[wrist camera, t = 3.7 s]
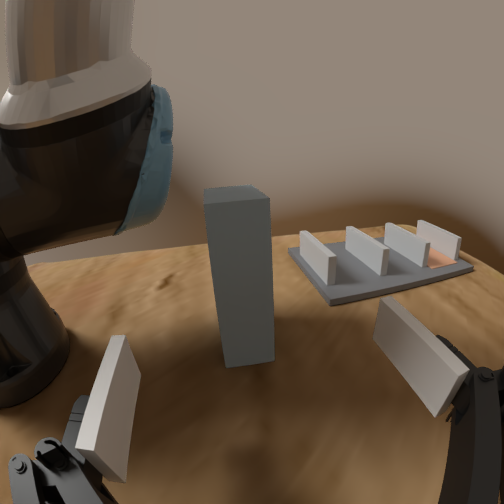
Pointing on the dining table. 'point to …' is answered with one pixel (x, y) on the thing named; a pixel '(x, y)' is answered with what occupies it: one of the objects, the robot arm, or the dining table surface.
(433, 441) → the dining table surface
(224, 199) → the tall grey pillar
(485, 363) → the dining table surface
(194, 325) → the dining table surface
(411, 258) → the rack
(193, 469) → the dining table surface
